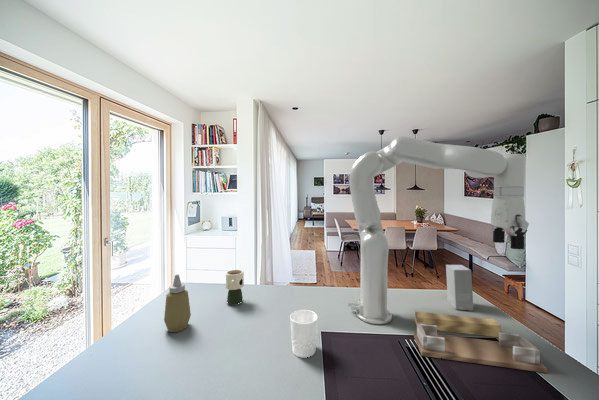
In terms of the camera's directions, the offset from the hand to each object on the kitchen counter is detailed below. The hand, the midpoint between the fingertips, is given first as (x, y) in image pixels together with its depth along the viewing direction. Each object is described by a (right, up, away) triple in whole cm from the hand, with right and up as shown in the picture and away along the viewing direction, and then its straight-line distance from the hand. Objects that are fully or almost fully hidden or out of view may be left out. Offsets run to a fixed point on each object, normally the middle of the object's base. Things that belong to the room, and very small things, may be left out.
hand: (507, 245), depth 79 cm
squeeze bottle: (-109, -29, +3) cm, 113 cm away
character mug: (-94, -28, +21) cm, 101 cm away
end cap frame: (-18, -29, -10) cm, 35 cm away
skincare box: (-4, -28, +19) cm, 34 cm away
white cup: (-66, -29, -9) cm, 73 cm away
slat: (-16, -29, +2) cm, 33 cm away
